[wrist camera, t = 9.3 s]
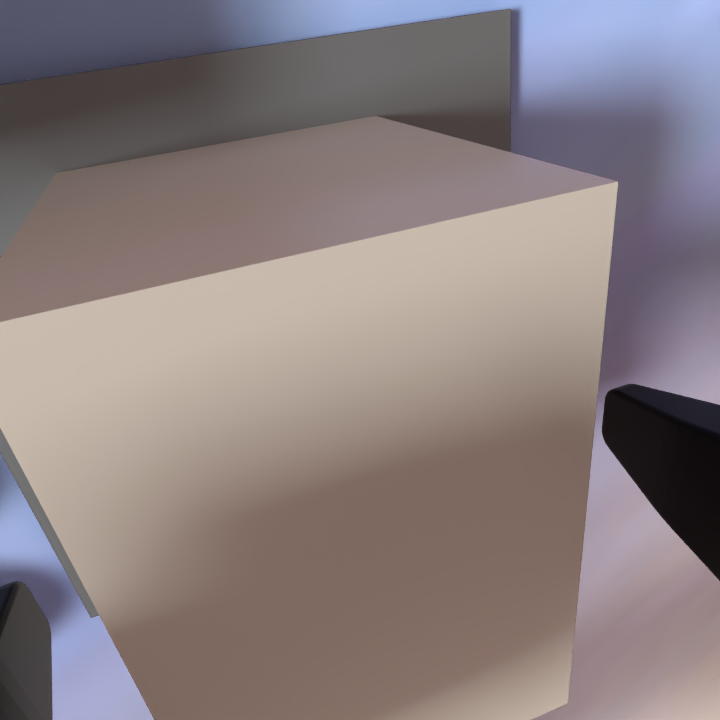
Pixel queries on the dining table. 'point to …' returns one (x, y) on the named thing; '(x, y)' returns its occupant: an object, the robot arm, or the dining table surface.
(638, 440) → the robot arm
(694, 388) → the dining table surface
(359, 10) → the dining table surface
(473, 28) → the slate mat
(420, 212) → the upright cream box
